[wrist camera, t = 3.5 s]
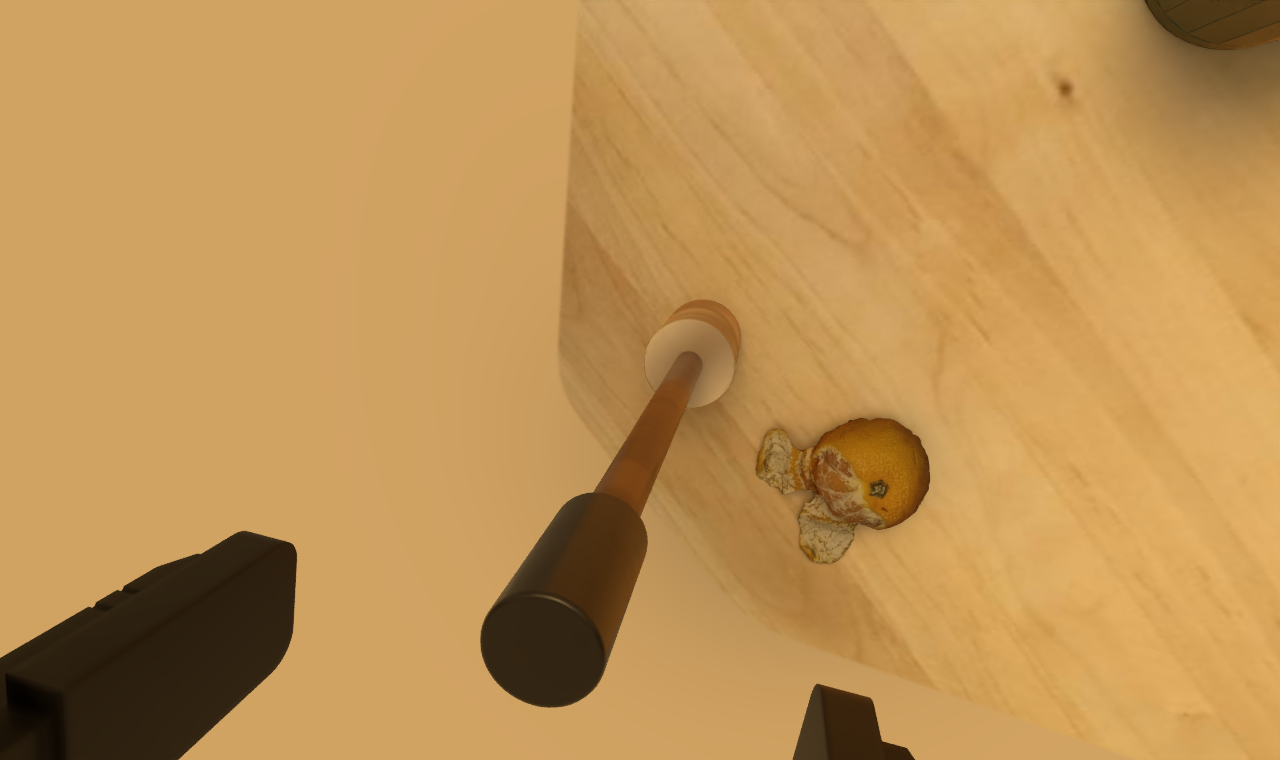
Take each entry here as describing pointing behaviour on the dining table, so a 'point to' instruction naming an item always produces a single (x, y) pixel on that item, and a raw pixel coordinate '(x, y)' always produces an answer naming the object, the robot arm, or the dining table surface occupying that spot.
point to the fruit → (848, 480)
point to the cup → (1220, 21)
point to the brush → (604, 529)
